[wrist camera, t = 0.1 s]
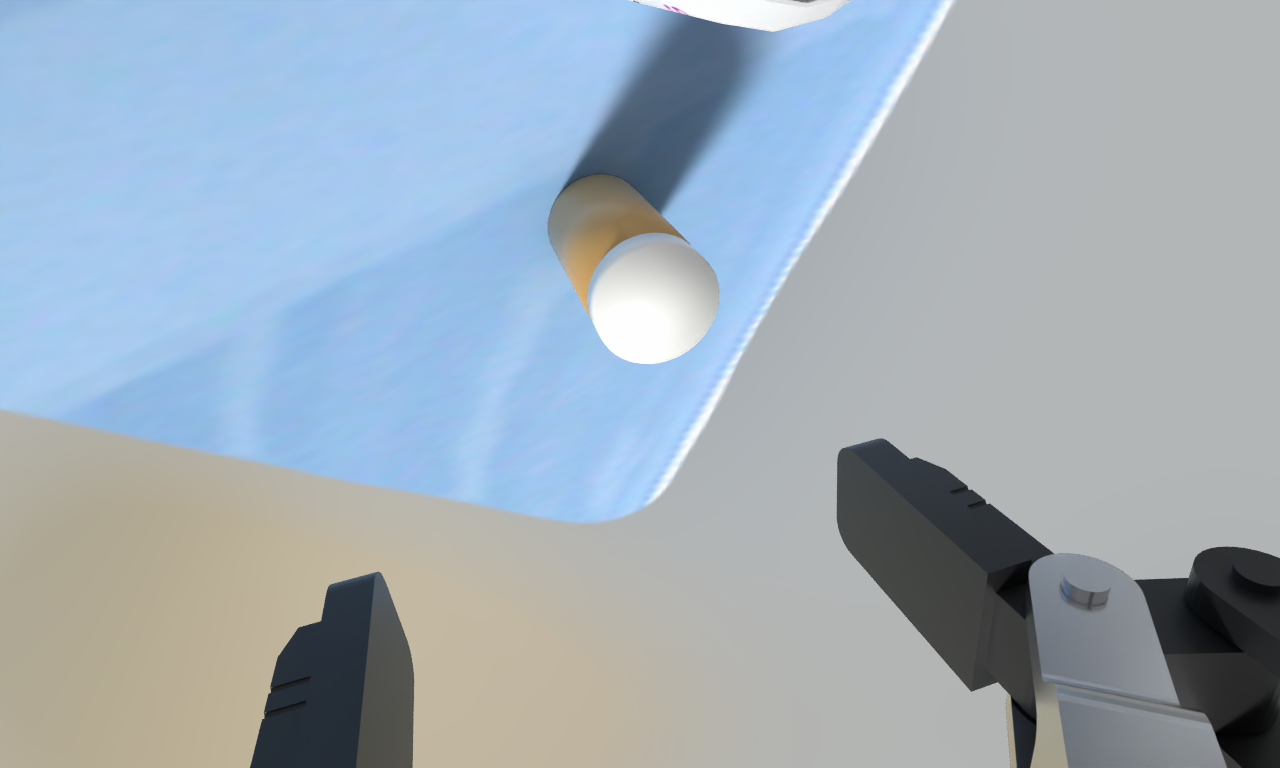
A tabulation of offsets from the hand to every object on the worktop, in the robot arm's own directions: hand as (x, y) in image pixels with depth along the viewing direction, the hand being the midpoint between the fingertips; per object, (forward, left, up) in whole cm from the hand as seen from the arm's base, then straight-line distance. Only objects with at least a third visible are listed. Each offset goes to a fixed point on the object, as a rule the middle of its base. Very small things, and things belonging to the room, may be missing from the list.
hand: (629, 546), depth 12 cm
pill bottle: (0, +6, -23) cm, 23 cm away
